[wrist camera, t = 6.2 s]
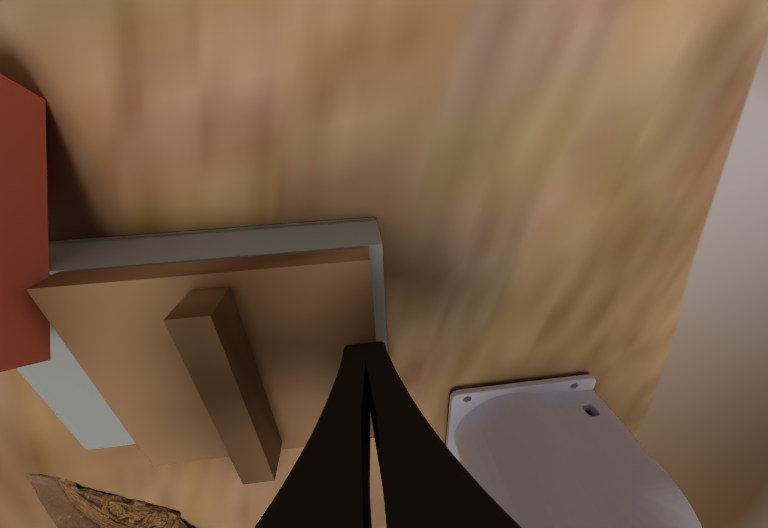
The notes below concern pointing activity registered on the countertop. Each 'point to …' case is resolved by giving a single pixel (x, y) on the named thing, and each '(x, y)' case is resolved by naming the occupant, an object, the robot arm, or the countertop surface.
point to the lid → (216, 348)
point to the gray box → (65, 375)
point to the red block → (22, 226)
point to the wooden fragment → (98, 507)
